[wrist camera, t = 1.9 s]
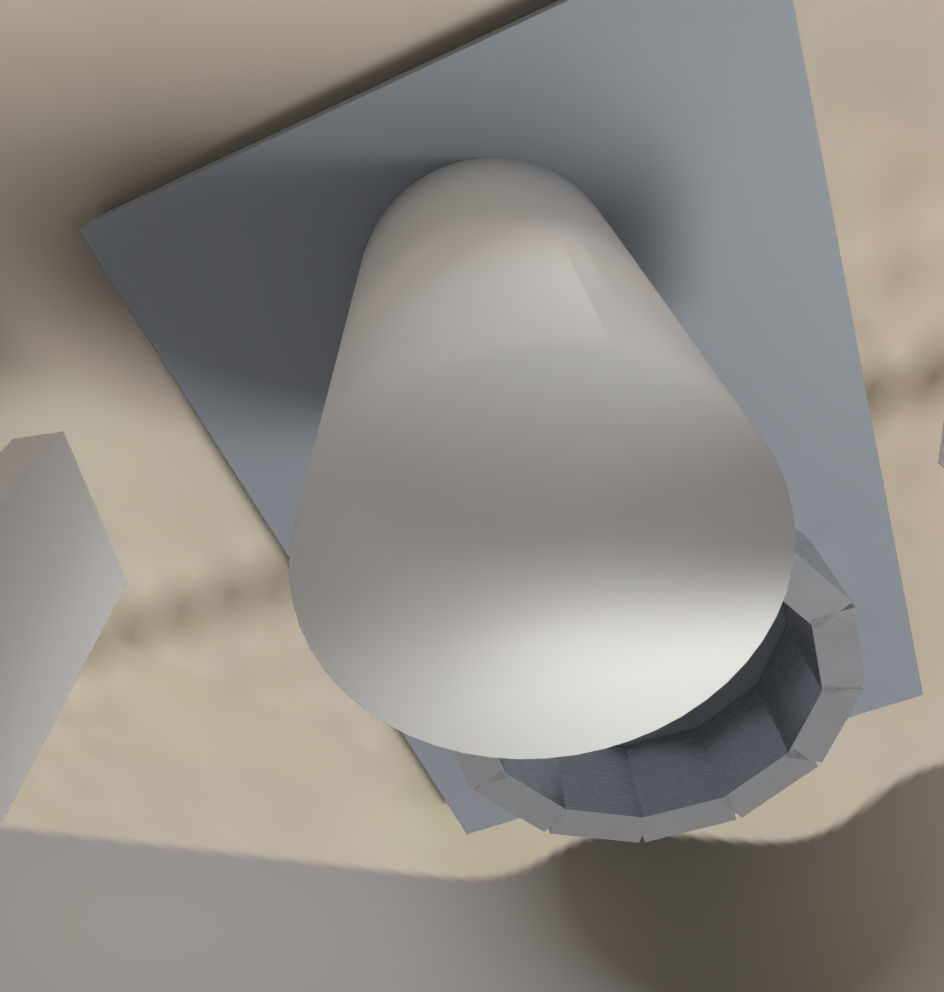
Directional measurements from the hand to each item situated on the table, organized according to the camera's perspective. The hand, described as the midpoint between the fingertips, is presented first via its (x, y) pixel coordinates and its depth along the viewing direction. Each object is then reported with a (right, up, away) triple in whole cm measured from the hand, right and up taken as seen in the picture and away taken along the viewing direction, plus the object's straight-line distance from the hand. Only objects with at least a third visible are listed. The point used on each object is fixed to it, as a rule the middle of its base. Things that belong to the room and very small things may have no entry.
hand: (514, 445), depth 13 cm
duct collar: (+4, -4, +10) cm, 12 cm away
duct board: (+2, 0, +9) cm, 9 cm away
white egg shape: (0, +3, +5) cm, 6 cm away
